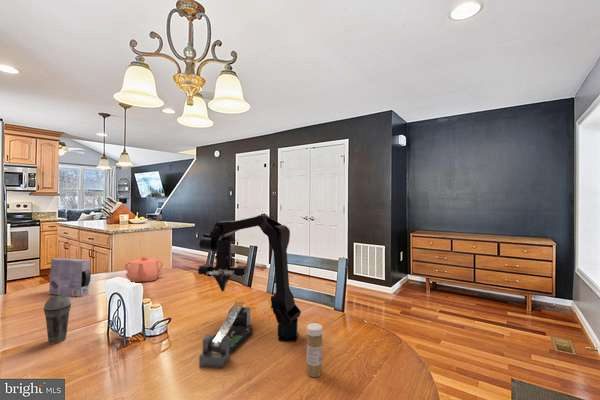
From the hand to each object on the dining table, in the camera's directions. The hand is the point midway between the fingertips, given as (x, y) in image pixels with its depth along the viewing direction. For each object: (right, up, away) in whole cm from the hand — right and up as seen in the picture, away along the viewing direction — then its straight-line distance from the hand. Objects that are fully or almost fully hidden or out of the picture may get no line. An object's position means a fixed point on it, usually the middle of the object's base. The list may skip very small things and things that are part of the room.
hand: (223, 291), depth 115 cm
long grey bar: (+6, -6, -16) cm, 18 cm away
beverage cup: (-52, -12, -17) cm, 56 cm away
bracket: (+6, -12, -16) cm, 21 cm away
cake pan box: (-84, -11, +28) cm, 89 cm away
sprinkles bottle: (+35, -13, -33) cm, 50 cm away
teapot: (-61, -11, +52) cm, 81 cm away
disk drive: (+7, -13, -16) cm, 21 cm away
